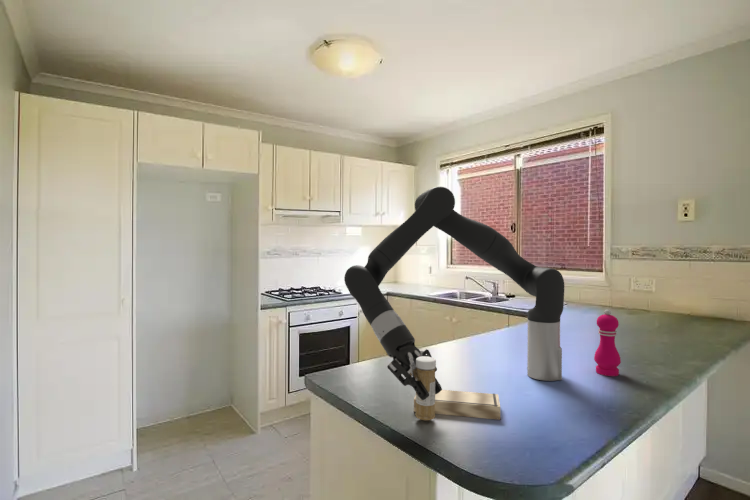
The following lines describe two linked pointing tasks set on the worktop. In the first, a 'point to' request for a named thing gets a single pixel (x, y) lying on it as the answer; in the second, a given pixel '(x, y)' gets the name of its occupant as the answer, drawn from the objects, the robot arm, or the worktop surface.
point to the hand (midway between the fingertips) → (432, 394)
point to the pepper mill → (607, 346)
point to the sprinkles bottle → (427, 377)
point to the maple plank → (466, 404)
